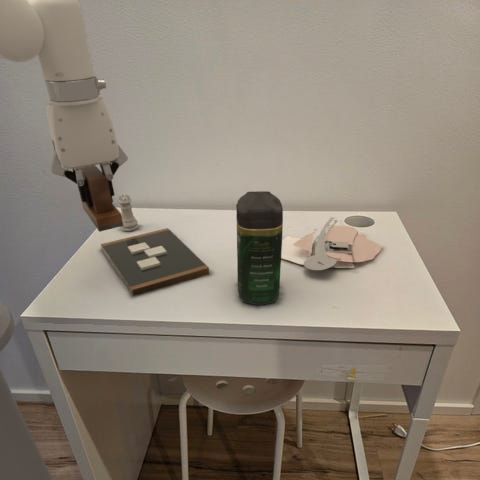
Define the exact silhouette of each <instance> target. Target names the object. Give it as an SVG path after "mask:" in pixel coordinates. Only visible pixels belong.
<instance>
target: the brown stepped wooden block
mask: <svg viewBox="0 0 480 480" xmlns="http://www.w3.org/2000/svg"><path fill="white" fill-rule="evenodd" d="M82 170H83V177H84V180H85V182H86V184H87V185H88V188H89V192H90V196H91V200H92V205H93V206H92V207H88V205H87V204H86V202H82V200H81V196H80V202H81V205H82V209H83V211H84V212H85V214H86V215H87V216H88V218H89V219H90V221H91V222H92V223H93V225H94V226H95V227H96V229H97V231H99V232H104V231H107V230H112V229H116V228H120V227H121V226H123V221H122V214H121V212H120V211H119V209H118V208H117V207H116V206H115V205H114V204H113V202H112V200H111V195H110V190H109V186H108V181H107V177H106V176H105V175H104V174H103V173H102V171H101V169H100V168H98V166H96V165H91V166H86V167H82ZM99 232H98V233H99Z"/></svg>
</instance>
